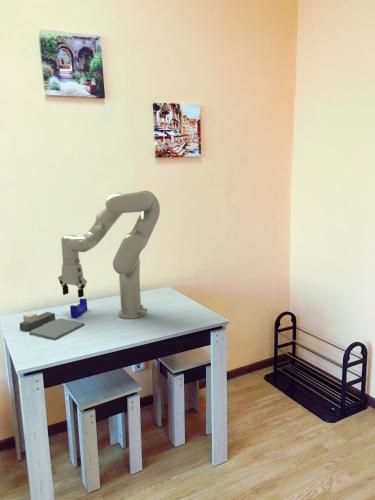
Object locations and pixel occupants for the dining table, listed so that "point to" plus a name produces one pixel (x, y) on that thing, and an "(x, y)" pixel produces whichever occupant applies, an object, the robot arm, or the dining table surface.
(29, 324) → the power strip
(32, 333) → the slate mat
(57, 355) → the dining table surface
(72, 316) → the blue curved block
